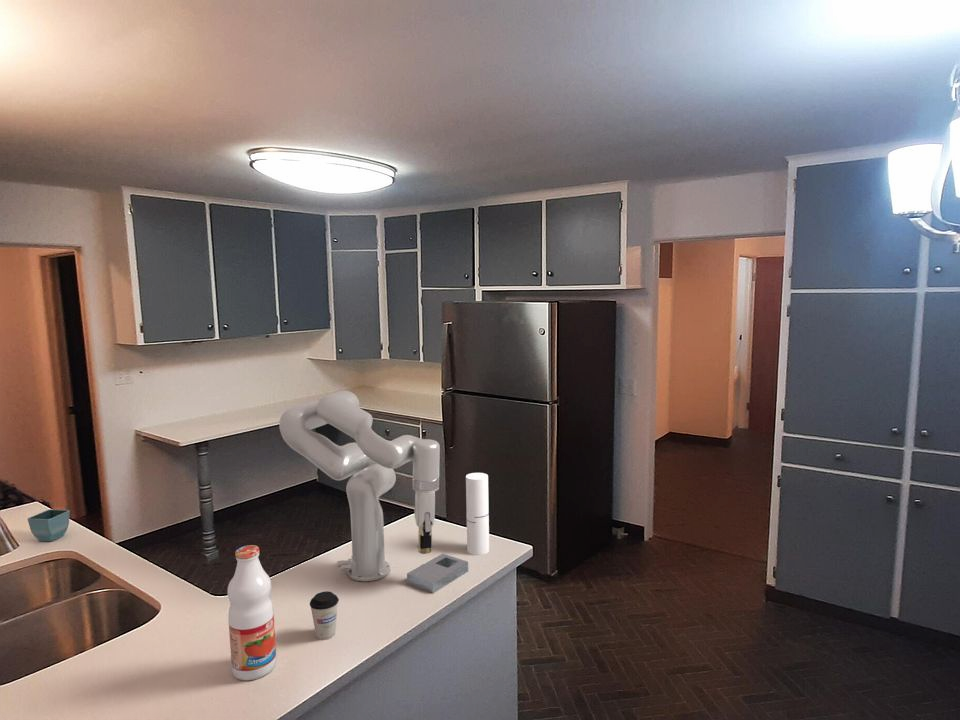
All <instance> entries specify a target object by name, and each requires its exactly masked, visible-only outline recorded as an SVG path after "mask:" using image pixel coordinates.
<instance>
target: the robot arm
mask: <svg viewBox="0 0 960 720" xmlns="http://www.w3.org/2000/svg"><path fill="white" fill-rule="evenodd" d="M373 420H374V419H373V415H372V414H371V413H369V412H367V411H366V410H364V409H362V408H360V401H359V398H358V397H357V395H356V394H354V393H353V392H351V391H350V390H340V391H339V390H338V391H337V392H333V393H329V394H326V395H325V396H323V397H321V398H317V399H315V400H311V401H307V402H303V403H300V404H296V405H294V406H292V407H290V408H289V407H288V409H286V410H285V411H284V412H283V413H282V414H281V415H280V418H279V421H278V422H279V426H278V427H279V432H280V434H281V437H282V438H283V439H282V440H283V441H284V442H285V443H286V445H288V446H289V447H290V448H291V449H292V450H293V451H295V452H297V454H299V455H301V456H303V458H305V459H307V460H308V461H309V462H310V463H311V464H312V465H314V466H315V467H317V468H318V469H319V470H320V471H322V472H323V473H324V474H326V475H327V476H328V477H329V478H330V479H332V480H335V481H342V480H343V481H344V480H346V479H348V478H349V477H350V478H349V479H348V481H347V483H346V488H345V489H346V495H347V496H346V497H347V500H348V505H349V512H350V515H349V516H350V528H351V529H350V530H351V549H352V550H351V557H350V558H348V559H345V560H337V561H336V564H337V568H340V570H341V571H345V570H347V575H348V577H349V578H350V579H352V580H353V581H357V582H373V581H378V580H380V579H382V578H384V577H386V576H387V575H388V574H390V572H391V565H390V563H389V562H387V561H386V559H385V558H386V557H385V534H384V533H385V530H384V526H385V525H384V512H383V508H382V505H381V503H380V500H379V498H380V497H381V496H382V495H383V494H386V493H387V492H388V491H389V490H391V489H392V488H393V487H394V486H395V483H396V481H397V477H396V476H397V475H396V472H395V469H398V468H400V467H402V466H404V465H405V464H407V463H409V462H412V490H413V491H414V492H415V495H414V496H415V497H414V519H415V523H416V527H418V528H419V526H421V535H420V548H421V549H426V548H431V549H432V546H431V544H432V540H433V538H432V537H433V533H432V534H431V525H432V527H433V526H434V525H435V518H436V516H435V515H436V492H437V491H439V490H440V464H441V463H440V461H441V459H440V457H441V456H440V454H441V447H440V443H439V442H438V441H437V440H435V439H425V438H424V439H423V438H421V437H418V436H414V435H410V434H404V435H401V436H398V437H396V438H394V439H392V440H390V441H389V440H387V439H385V438H383V437H382V436H380V435H378V434H377V433H376V432H375V431H374V430H373V429H372V426H373ZM327 424H328V425H330V426H333V427H334V428H336V429H337V430H338V431H340V432H342V433H344V434H345V435H347V436H350V438H352V439H353V440H354V441H355V442H348V443H346V444H344V445H338V444H336V443H334V442H333V441H332V440H331V439H329V438H328V437H326V436H325V435H323V434H321V433H318V432H315V431H313V429H316V428H320V427H322V426H325V425H327ZM423 523H425V524H423ZM423 527H425V529H424V530H423ZM432 545H433V544H432Z"/></svg>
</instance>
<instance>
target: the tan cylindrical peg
mask: <svg viewBox="0 0 960 720" xmlns="http://www.w3.org/2000/svg"><path fill="white" fill-rule="evenodd" d="M423 524H425V523H423ZM424 529H425V527H423V530H424ZM432 532H433V526H432V525H431V534H432V535H433V533H432ZM417 535H418V536H417V537H418V539H417V540H418V542H417V543H418V548H417V552H418V553H419V554H422V555H426V554H430V553H432V545H433V544H431V548H426V549H421V548H420V535H421V526H419V527H418V534H417Z"/></svg>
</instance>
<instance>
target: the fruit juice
mask: <svg viewBox="0 0 960 720" xmlns="http://www.w3.org/2000/svg"><path fill="white" fill-rule="evenodd" d="M234 556H235V559H236V561H237V563H236V568H235V571H234V575H233V577H232V578H231V579H230V581H229V583H228V585H227V590H226V591H227V597H228V598H227V599H228V600H229V603H230V605H229V607H228V616H227V617H228V620H227V621H228V631H229V633H228V634H229V645H230V648H229V649H230V662H231V671H232V674H233V676H234V677H235V678H236V679H238V680H241V681H253V680H259V679H261V678H264V677H265V676H267V675H268V674H269V673H271V672H272V671H273V669H275V667H276V664H277V648H276V646H277V645H276V633H275V632H276V630H275V629H276V628H275V614H274V612H275V610H274V604H273V600H272V598H271V591H272V580H271V578H270V576H269V574H267V572H266V571H265V569H264V568H263V567H262V564H261V561H260V559H259V556H260V547H259V546H257V545H253V544H250V545H248V544H247V545H244V546H241V547H239V548H237V549H236V550H235V555H234Z"/></svg>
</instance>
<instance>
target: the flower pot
mask: <svg viewBox="0 0 960 720" xmlns="http://www.w3.org/2000/svg"><path fill="white" fill-rule="evenodd" d="M27 523H28V525H29V530H30V531H31V534H32V535H33V536H34V537H35V538H36V540H38V541H39V542H53V541H56V540H57V539H60V538H62V537H64V536H65V534H66V532H67V531H68V528H69V525H70V509H47V510H45V511H42V512H40V513H37V514H35V515H33V516H29V517H28V518H27Z"/></svg>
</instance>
